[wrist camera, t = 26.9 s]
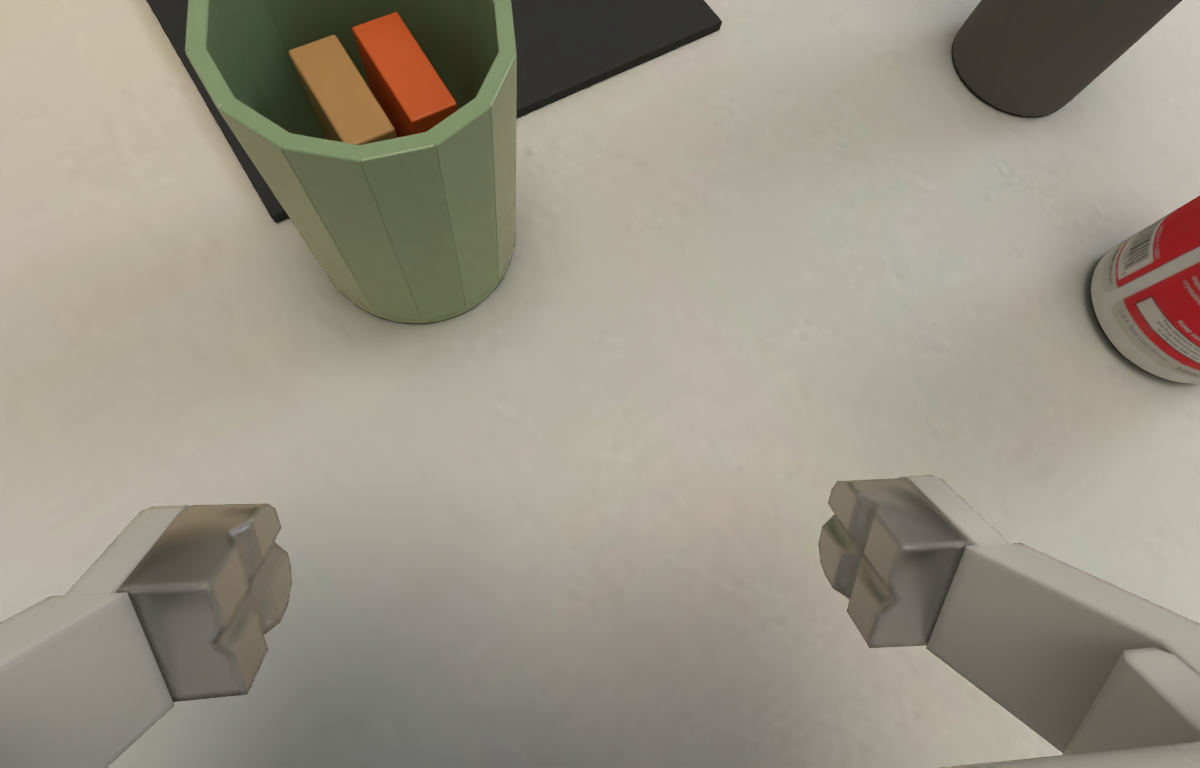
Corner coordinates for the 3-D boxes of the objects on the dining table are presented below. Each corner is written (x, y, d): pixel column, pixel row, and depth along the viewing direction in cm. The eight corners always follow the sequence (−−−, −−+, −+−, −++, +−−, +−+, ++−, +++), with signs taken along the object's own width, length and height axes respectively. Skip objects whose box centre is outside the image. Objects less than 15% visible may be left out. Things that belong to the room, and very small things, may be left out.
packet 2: (443, 261, 21) (411, 122, 14) (401, 193, 21) (350, 26, 14) (474, 246, 21) (457, 103, 14) (432, 179, 21) (396, 10, 15)
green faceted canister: (378, 359, 20) (277, 213, 11) (285, 200, 21) (129, -45, 12) (549, 272, 22) (573, 87, 13) (455, 128, 23) (420, -131, 14)
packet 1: (401, 282, 20) (346, 148, 14) (358, 212, 21) (286, 49, 14) (433, 266, 21) (395, 128, 14) (391, 197, 21) (334, 31, 14)
